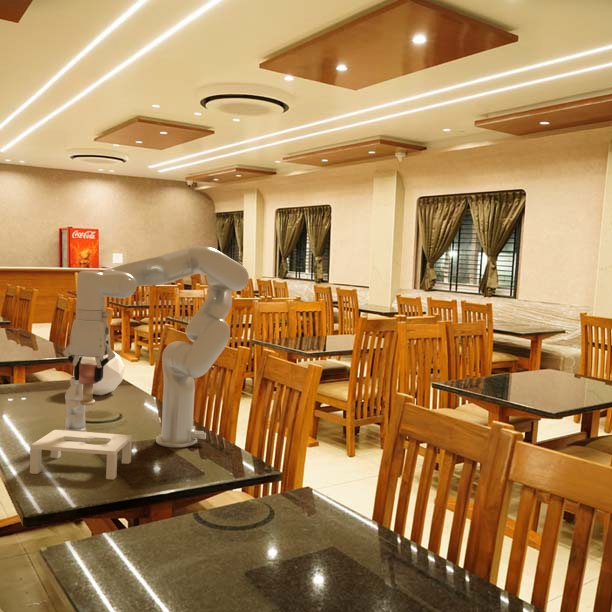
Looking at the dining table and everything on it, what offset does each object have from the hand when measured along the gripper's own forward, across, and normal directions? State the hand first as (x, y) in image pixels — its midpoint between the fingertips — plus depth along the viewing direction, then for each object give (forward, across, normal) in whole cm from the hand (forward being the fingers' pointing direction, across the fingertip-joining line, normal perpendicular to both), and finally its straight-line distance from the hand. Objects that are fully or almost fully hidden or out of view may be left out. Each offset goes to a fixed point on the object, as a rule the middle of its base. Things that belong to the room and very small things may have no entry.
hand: (88, 379), depth 170 cm
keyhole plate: (+22, -2, +7) cm, 24 cm away
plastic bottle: (+23, +8, -11) cm, 27 cm away
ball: (+23, +27, -72) cm, 80 cm away
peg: (+7, 0, 0) cm, 7 cm away
